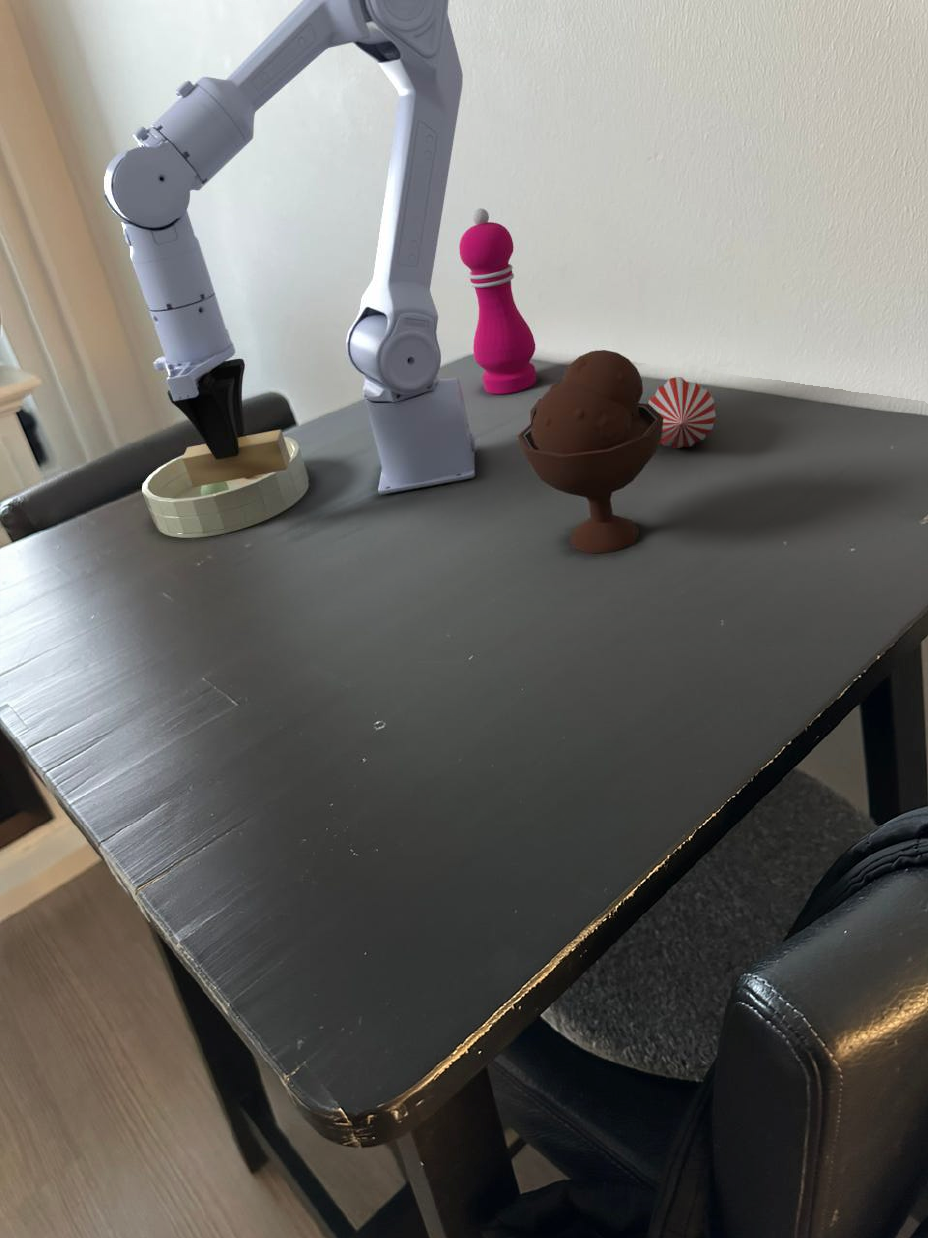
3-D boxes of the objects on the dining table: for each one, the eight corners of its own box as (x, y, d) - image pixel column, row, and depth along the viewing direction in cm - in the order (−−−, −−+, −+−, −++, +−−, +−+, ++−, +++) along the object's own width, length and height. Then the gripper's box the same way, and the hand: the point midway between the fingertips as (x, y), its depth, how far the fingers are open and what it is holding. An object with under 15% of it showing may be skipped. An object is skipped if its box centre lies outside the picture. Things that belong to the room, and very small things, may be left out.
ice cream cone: (690, 440, 108) (698, 472, 89) (635, 414, 108) (632, 440, 89) (719, 385, 105) (734, 406, 87) (663, 358, 106) (666, 374, 87)
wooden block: (290, 458, 95) (281, 428, 94) (287, 469, 94) (277, 440, 92) (198, 475, 96) (187, 446, 95) (193, 487, 95) (181, 458, 93)
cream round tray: (318, 458, 112) (308, 424, 110) (297, 520, 98) (285, 482, 96) (177, 485, 114) (165, 451, 112) (136, 549, 100) (122, 512, 98)
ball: (234, 484, 104) (234, 500, 106) (217, 466, 104) (217, 482, 107) (211, 497, 103) (211, 513, 105) (194, 478, 103) (195, 494, 106)
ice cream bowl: (592, 499, 89) (568, 328, 82) (701, 521, 82) (684, 336, 74) (510, 552, 84) (476, 374, 76) (618, 581, 76) (592, 387, 69)
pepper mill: (476, 399, 119) (441, 220, 109) (485, 379, 125) (452, 208, 115) (537, 391, 118) (507, 208, 108) (544, 371, 124) (515, 196, 114)
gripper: (160, 290, 94) (207, 430, 100) (110, 332, 81) (168, 489, 88) (234, 275, 93) (276, 417, 100) (195, 315, 80) (247, 474, 87)
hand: (230, 450), depth 94 cm, fingers closed on wooden block, 2 cm apart
